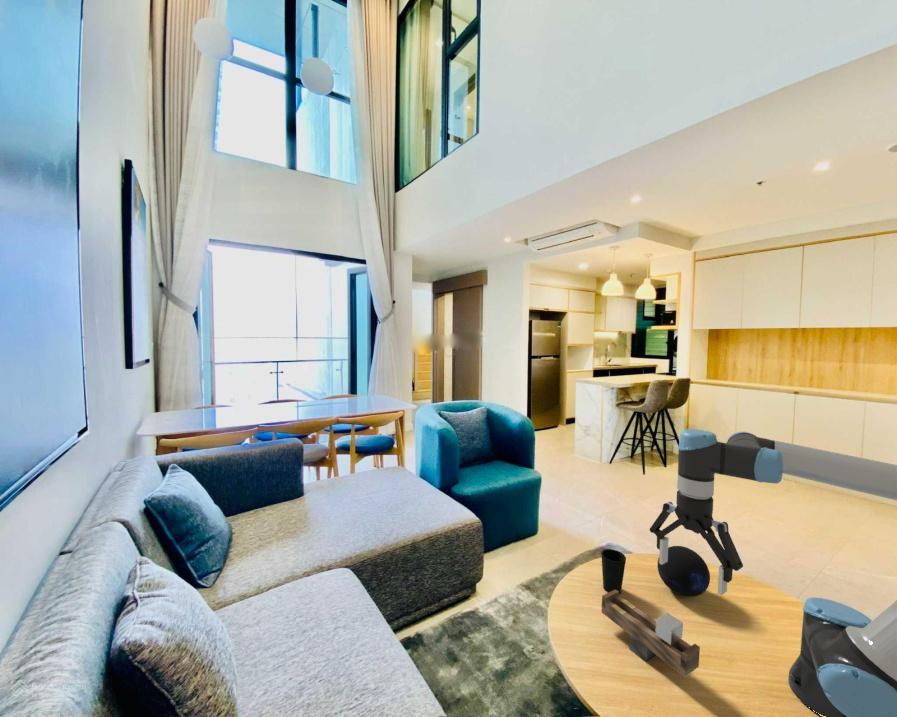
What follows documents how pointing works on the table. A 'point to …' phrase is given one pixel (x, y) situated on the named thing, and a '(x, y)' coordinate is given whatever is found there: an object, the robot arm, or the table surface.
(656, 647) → the beam
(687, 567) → the decorative sphere
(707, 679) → the table surface
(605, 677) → the table surface
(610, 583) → the cup
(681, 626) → the block
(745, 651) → the table surface
